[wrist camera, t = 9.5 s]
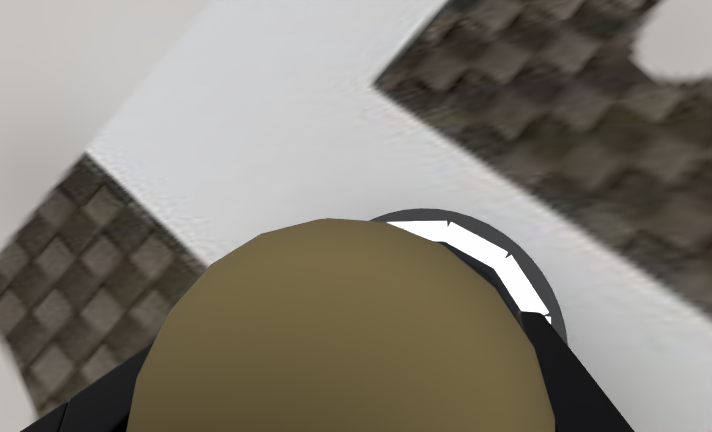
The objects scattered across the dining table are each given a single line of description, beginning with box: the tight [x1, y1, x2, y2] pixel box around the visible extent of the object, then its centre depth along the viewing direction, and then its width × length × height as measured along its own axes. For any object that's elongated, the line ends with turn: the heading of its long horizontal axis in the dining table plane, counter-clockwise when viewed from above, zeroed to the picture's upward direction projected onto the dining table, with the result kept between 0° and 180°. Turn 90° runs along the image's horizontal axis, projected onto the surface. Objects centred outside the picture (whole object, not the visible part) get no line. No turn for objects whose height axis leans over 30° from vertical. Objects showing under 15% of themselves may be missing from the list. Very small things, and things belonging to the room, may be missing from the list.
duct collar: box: [370, 209, 568, 346], centre depth 18 cm, size 12×12×4 cm
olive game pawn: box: [126, 218, 555, 432], centre depth 9 cm, size 6×6×11 cm
